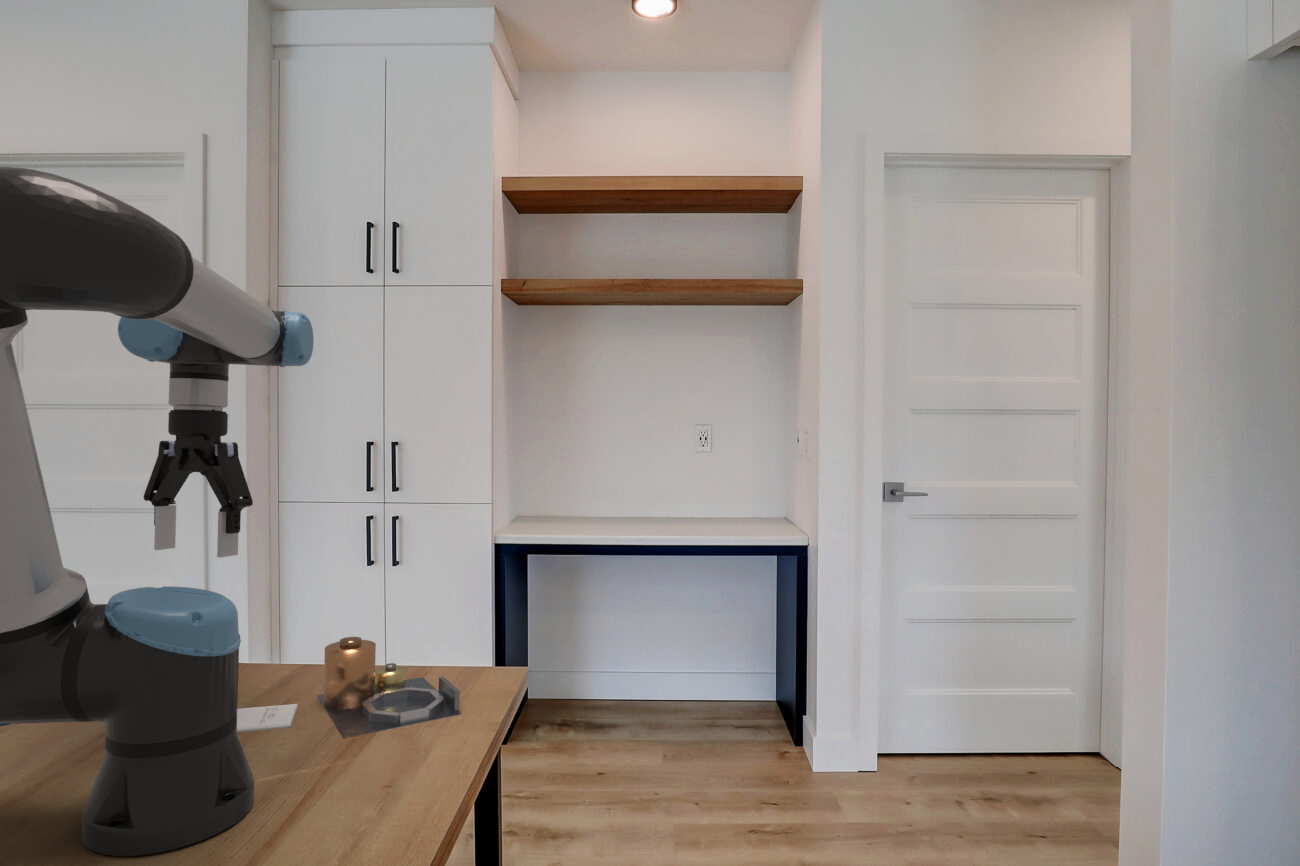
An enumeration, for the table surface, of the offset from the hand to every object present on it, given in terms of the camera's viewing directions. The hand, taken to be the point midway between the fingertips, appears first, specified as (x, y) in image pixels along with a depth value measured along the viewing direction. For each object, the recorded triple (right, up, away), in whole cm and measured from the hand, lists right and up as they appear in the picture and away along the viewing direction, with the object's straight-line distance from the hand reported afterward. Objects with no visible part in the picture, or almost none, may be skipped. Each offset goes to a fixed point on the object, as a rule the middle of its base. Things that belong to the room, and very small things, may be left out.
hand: (195, 552), depth 110 cm
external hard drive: (+12, -23, -8) cm, 27 cm away
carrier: (+29, -23, -1) cm, 37 cm away
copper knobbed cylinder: (+23, -22, 0) cm, 32 cm away
